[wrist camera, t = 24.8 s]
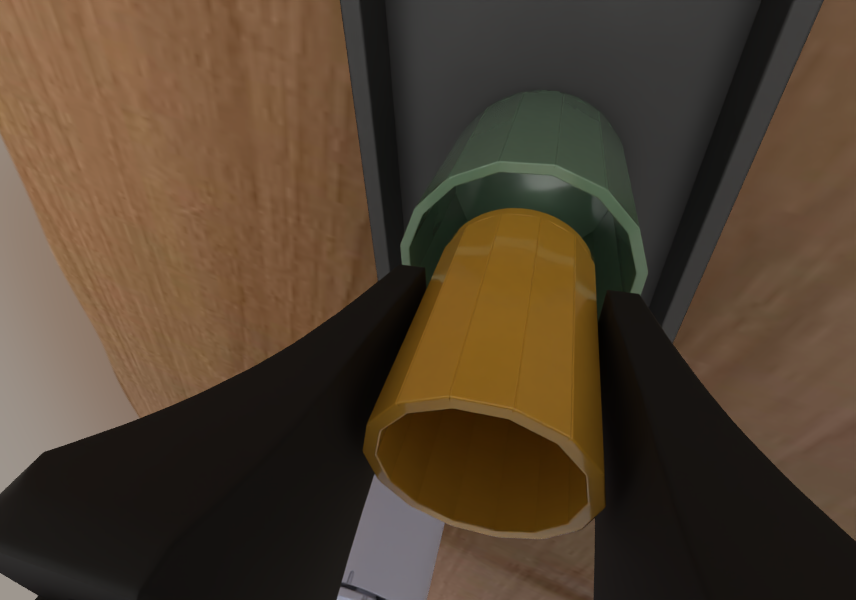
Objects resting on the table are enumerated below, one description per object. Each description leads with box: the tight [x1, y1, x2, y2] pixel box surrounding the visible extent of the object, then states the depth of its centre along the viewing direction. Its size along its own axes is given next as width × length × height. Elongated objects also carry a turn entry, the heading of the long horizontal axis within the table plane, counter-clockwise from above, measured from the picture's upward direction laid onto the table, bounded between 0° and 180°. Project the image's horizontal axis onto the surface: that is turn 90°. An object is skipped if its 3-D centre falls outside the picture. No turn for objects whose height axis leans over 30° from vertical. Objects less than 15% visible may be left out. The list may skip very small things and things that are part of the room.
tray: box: [340, 0, 824, 344], centre depth 15 cm, size 16×11×2 cm
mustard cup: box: [363, 208, 606, 539], centre depth 9 cm, size 4×4×6 cm
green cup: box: [400, 90, 648, 321], centre depth 13 cm, size 6×6×6 cm
